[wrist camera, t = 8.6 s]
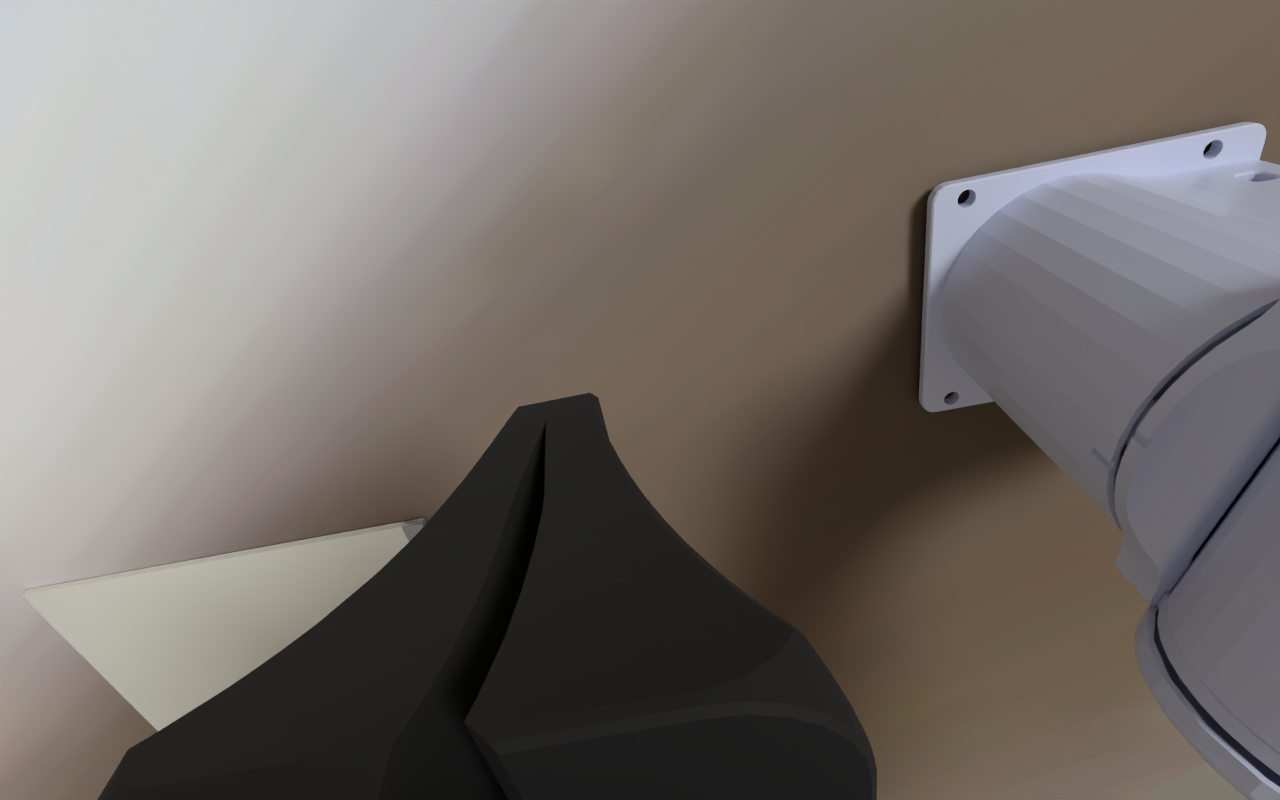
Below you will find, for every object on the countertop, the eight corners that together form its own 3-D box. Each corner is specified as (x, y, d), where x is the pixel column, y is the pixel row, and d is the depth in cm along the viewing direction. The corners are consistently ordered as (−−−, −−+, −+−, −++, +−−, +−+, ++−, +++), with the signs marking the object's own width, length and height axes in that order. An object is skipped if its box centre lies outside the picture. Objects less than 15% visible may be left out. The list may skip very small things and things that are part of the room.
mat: (423, 517, 25) (421, 523, 25) (524, 726, 32) (524, 732, 32) (27, 589, 26) (21, 596, 26) (212, 776, 33) (209, 783, 33)
